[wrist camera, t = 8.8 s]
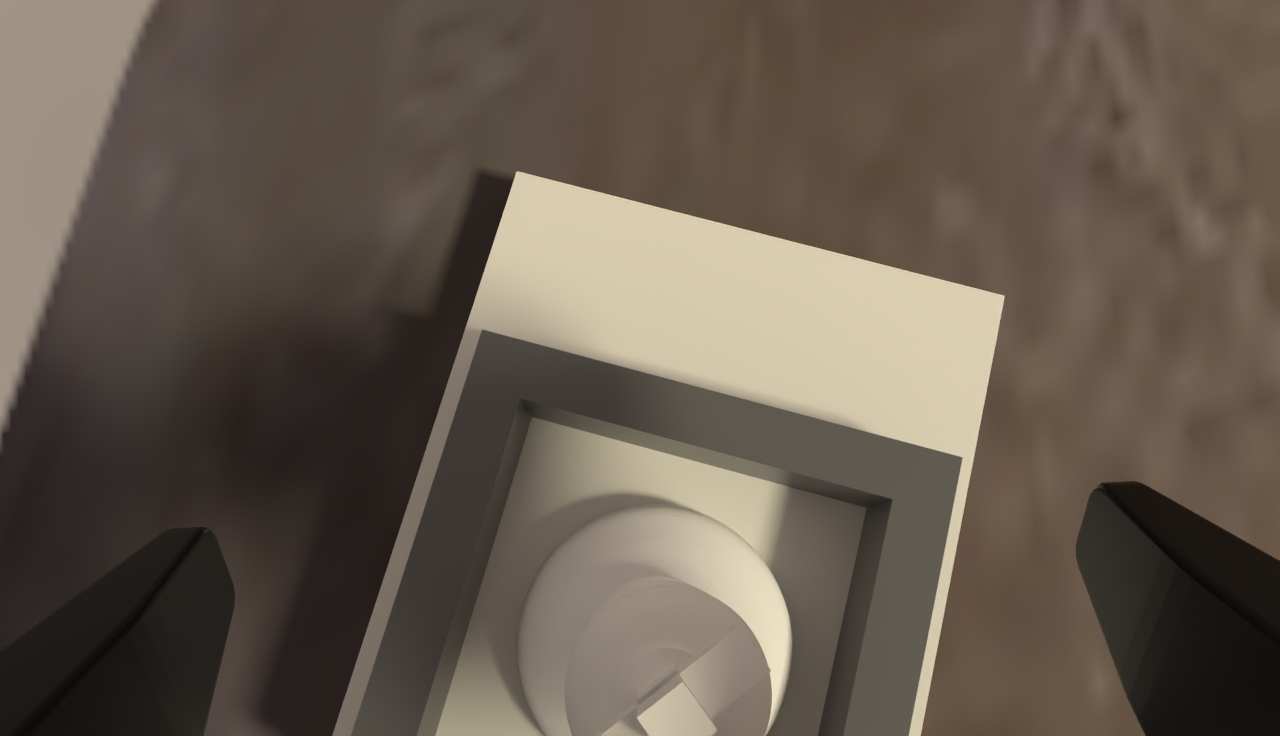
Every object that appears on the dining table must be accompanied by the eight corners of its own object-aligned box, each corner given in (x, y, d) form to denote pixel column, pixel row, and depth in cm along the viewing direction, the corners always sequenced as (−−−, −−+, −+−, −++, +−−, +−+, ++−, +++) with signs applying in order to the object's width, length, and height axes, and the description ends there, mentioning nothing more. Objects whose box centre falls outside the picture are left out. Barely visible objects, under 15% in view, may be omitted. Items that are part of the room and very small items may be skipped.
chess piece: (464, 613, 17) (224, 652, 7) (681, 452, 17) (734, 286, 8) (624, 851, 16) (603, 1272, 6) (847, 672, 17) (1142, 797, 7)
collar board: (811, 1180, 16) (851, 1314, 13) (260, 1007, 16) (179, 1098, 14) (982, 313, 19) (1043, 265, 16) (524, 195, 20) (504, 128, 17)
